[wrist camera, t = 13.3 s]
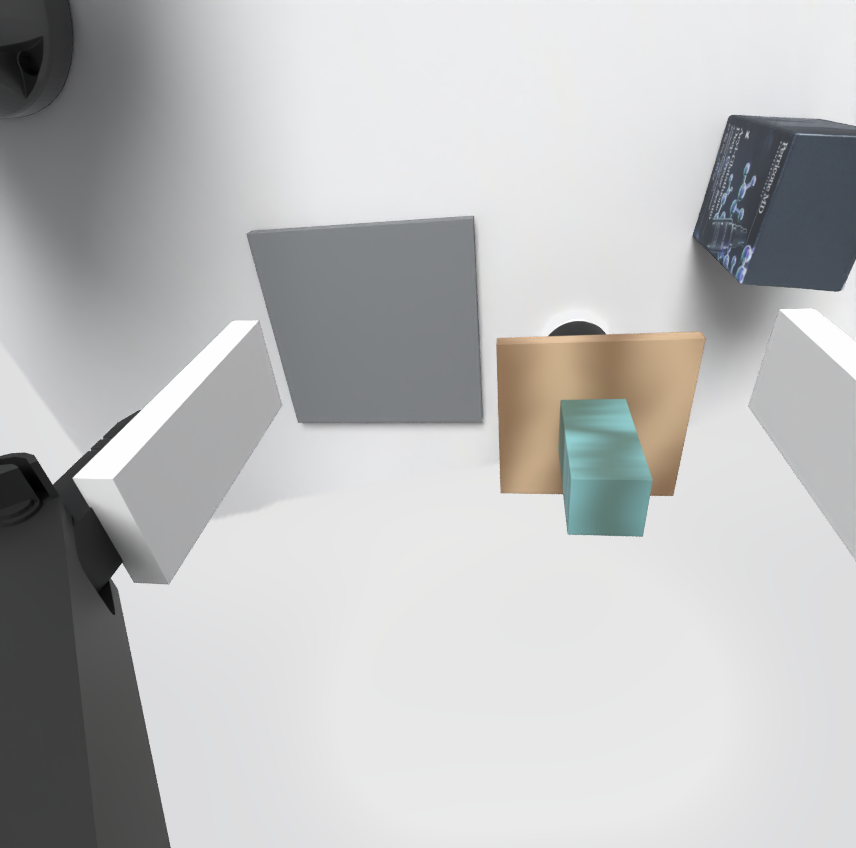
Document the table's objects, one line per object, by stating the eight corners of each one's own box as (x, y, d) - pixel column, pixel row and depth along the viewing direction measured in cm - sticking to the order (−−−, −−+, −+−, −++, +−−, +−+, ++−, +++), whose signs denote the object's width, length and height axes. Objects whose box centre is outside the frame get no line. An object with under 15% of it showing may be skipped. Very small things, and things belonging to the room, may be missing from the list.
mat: (301, 416, 53) (298, 422, 52) (251, 230, 43) (246, 234, 42) (482, 415, 50) (481, 421, 49) (473, 215, 40) (472, 218, 39)
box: (726, 114, 34) (797, 130, 26) (818, 117, 34) (923, 135, 25) (689, 237, 39) (739, 287, 30) (770, 242, 38) (845, 294, 30)
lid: (500, 484, 40) (497, 579, 33) (496, 338, 33) (491, 415, 26) (669, 486, 38) (706, 588, 31) (700, 331, 31) (757, 413, 24)
